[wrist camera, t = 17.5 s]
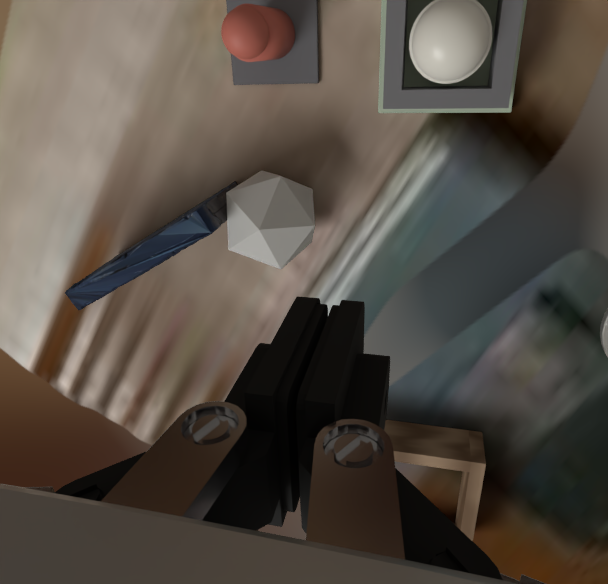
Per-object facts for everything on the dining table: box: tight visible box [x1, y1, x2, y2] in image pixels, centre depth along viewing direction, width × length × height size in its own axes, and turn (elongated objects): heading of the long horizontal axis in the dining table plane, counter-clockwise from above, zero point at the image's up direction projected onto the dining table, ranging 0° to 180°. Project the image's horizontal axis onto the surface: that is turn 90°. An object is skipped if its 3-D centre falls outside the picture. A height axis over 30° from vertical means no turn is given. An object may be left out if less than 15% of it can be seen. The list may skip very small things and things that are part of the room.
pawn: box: [222, 4, 295, 62], centre depth 40 cm, size 4×4×8 cm
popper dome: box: [409, 0, 492, 84], centre depth 37 cm, size 6×6×6 cm
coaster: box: [226, 0, 319, 85], centre depth 44 cm, size 8×8×1 cm
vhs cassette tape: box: [65, 182, 237, 310], centre depth 50 cm, size 18×3×10 cm, turn 121°
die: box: [226, 170, 315, 269], centre depth 47 cm, size 8×9×10 cm
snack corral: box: [384, 420, 486, 541], centre depth 61 cm, size 17×17×5 cm
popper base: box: [378, 0, 527, 113], centre depth 39 cm, size 11×11×4 cm
